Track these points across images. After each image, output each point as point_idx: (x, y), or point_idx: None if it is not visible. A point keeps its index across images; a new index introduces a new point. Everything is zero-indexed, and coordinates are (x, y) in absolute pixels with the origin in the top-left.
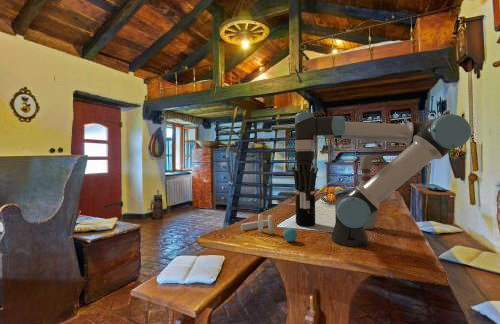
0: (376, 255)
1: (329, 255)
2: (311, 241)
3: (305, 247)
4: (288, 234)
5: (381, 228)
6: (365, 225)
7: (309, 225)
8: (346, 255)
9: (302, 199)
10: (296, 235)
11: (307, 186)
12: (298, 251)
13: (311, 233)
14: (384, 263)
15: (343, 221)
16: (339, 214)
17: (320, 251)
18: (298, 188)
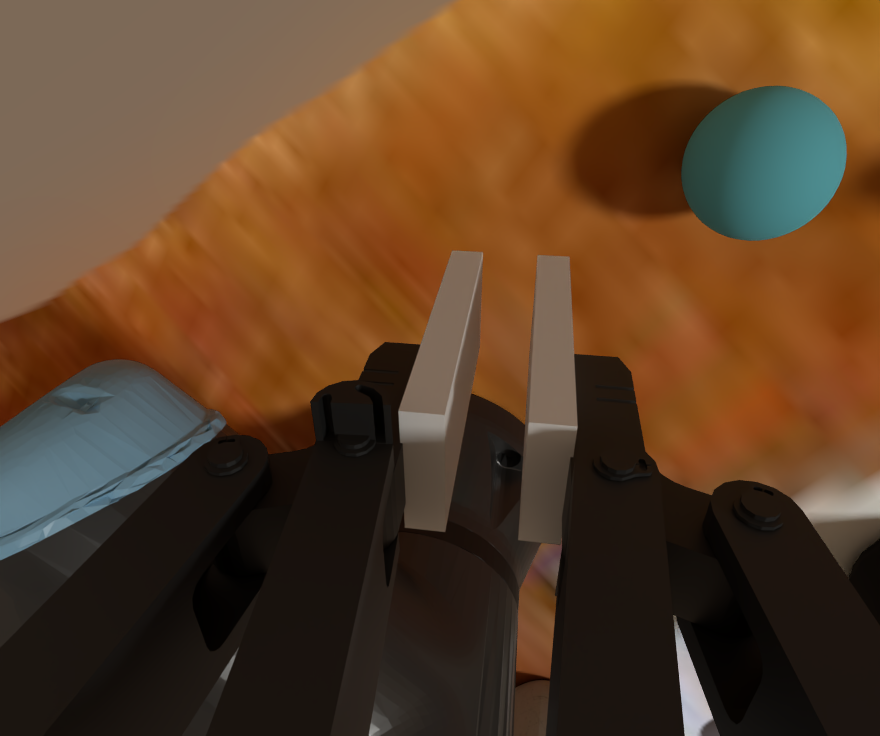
0: (190, 389)
1: (302, 169)
2: (603, 297)
3: (532, 147)
4: (738, 109)
5: None
6: (521, 699)
7: (865, 556)
8: (255, 262)
9: (531, 355)
10: (685, 194)
11: (283, 558)
12: (497, 13)
13: (737, 439)
14: (86, 323)
15: (102, 362)
16: (74, 381)
17: (396, 178)
18: (658, 507)
